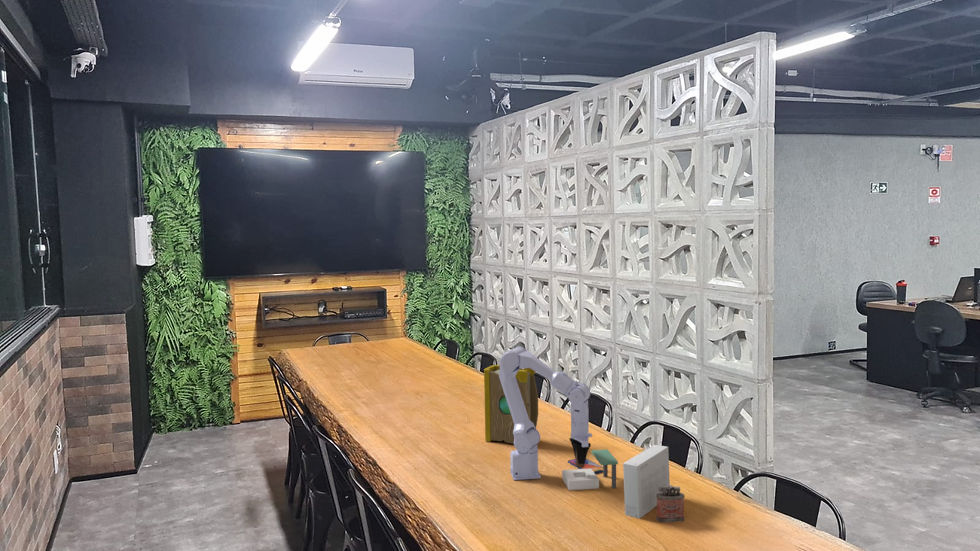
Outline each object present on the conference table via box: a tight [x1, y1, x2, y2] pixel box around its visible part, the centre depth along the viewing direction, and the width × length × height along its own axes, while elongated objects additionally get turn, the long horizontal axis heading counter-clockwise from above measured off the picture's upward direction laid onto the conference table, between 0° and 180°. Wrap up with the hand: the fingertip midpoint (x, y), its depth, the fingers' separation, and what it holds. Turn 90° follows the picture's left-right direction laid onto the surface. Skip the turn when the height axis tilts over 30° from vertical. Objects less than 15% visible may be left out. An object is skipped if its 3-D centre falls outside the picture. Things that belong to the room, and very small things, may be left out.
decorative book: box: [483, 364, 539, 445], centre depth 272 cm, size 20×11×30 cm, turn 63°
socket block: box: [561, 468, 600, 491], centre depth 227 cm, size 10×10×3 cm
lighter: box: [655, 484, 685, 523], centre depth 199 cm, size 8×3×10 cm, turn 92°
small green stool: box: [591, 449, 619, 489], centre depth 228 cm, size 6×12×9 cm, turn 6°
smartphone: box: [567, 458, 603, 475], centre depth 243 cm, size 7×15×1 cm, turn 26°
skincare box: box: [622, 444, 671, 519], centre depth 209 cm, size 21×5×16 cm, turn 141°
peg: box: [575, 454, 585, 469], centre depth 227 cm, size 3×3×6 cm
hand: (580, 461), depth 227 cm, fingers closed on peg, 3 cm apart
